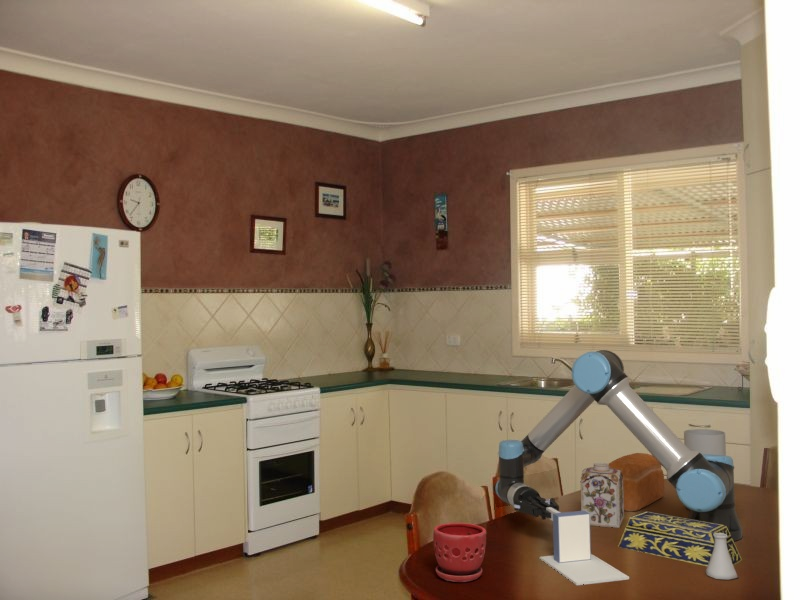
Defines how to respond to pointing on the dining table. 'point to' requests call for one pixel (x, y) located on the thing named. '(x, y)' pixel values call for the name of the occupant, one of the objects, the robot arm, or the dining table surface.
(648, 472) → the bread
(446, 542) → the plant pot
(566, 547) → the book
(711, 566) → the flask
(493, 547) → the dining table surface
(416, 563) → the dining table surface
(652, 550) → the decorative box
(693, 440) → the cylinder vase
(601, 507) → the decorative jar
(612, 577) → the mat
